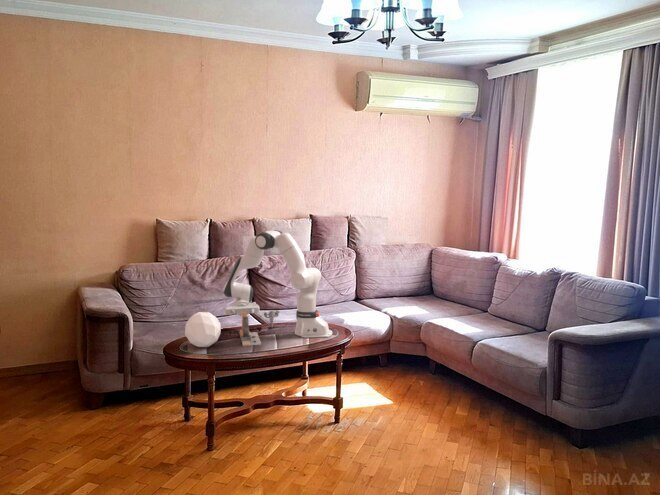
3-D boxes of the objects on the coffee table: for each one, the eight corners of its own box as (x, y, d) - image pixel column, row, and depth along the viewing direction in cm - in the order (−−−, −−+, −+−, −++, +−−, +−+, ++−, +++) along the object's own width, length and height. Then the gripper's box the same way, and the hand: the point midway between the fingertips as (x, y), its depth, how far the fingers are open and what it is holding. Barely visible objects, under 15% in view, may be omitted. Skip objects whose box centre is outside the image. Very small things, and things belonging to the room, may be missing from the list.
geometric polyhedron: (195, 360, 319) (172, 334, 312) (207, 338, 336) (185, 313, 330) (222, 346, 312) (198, 319, 305) (232, 325, 329) (210, 299, 323)
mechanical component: (263, 327, 362) (263, 311, 361) (277, 325, 368) (277, 309, 367) (265, 328, 359) (265, 312, 358) (279, 326, 365) (279, 310, 364)
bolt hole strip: (246, 334, 346) (246, 332, 346) (257, 334, 347) (256, 331, 347) (250, 345, 323) (250, 343, 323) (260, 344, 325) (260, 342, 325)
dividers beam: (239, 335, 345) (238, 309, 343) (247, 334, 346) (247, 308, 344) (241, 345, 322) (241, 318, 321) (251, 345, 324) (250, 317, 322)
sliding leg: (239, 333, 337) (239, 311, 336) (248, 333, 338) (248, 311, 337) (240, 335, 332) (240, 313, 331) (249, 335, 333) (248, 313, 332)
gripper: (224, 303, 356) (225, 308, 343) (258, 301, 361) (260, 306, 347) (224, 314, 357) (225, 319, 344) (258, 311, 362) (260, 316, 348)
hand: (243, 312), depth 346 cm, fingers open, 8 cm apart
